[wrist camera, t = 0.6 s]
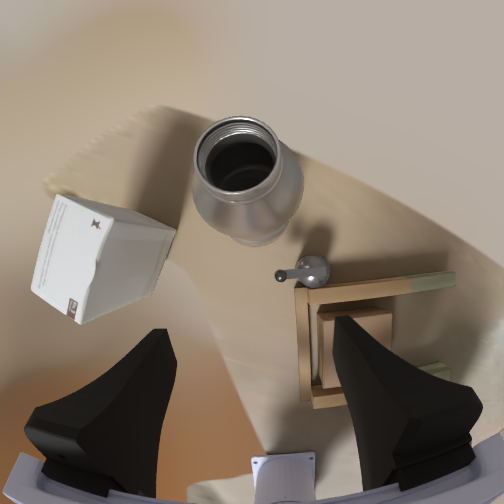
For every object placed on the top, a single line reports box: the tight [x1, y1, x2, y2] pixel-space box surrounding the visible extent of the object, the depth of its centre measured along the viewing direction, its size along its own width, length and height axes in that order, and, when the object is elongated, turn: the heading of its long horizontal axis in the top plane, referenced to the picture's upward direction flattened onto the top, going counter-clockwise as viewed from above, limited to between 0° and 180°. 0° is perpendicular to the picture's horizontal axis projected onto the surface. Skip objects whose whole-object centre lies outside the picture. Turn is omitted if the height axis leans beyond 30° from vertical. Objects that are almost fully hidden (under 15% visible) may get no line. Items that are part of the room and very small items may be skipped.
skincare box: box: [31, 193, 176, 324], centre depth 25 cm, size 8×6×15 cm
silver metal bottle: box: [192, 116, 304, 247], centre depth 22 cm, size 6×7×20 cm
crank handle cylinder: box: [275, 255, 330, 288], centre depth 28 cm, size 3×5×6 cm, turn 95°
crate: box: [317, 307, 392, 389], centre depth 29 cm, size 7×7×4 cm
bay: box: [294, 271, 456, 409], centre depth 29 cm, size 13×18×3 cm
